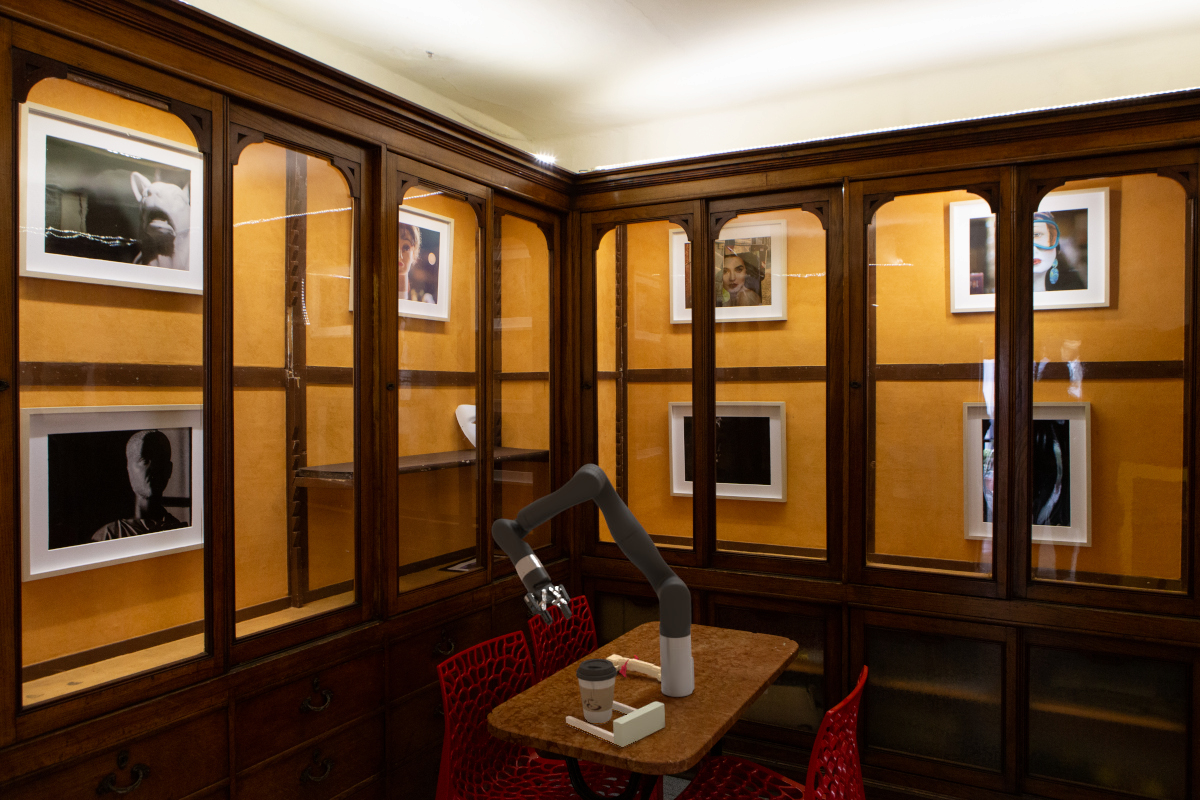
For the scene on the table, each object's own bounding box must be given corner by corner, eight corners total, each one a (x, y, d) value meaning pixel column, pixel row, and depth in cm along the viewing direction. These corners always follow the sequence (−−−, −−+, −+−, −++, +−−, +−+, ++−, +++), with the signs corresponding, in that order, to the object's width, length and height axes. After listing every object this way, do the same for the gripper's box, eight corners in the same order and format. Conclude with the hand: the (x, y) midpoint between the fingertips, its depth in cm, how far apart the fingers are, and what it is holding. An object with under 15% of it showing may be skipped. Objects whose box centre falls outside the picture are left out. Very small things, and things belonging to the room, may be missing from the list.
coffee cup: (571, 725, 203) (569, 670, 203) (584, 708, 214) (583, 656, 214) (612, 729, 200) (610, 673, 200) (623, 712, 211) (621, 658, 211)
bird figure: (679, 681, 236) (611, 662, 250) (680, 654, 236) (612, 636, 249) (664, 692, 228) (595, 672, 241) (665, 664, 227) (596, 645, 241)
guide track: (608, 705, 215) (608, 684, 216) (665, 726, 201) (664, 704, 201) (566, 724, 204) (565, 702, 204) (622, 748, 189) (621, 724, 189)
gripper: (519, 570, 218) (547, 618, 210) (556, 561, 229) (584, 607, 220) (508, 586, 222) (535, 633, 214) (545, 577, 232) (572, 622, 224)
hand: (560, 620), depth 217 cm, fingers open, 6 cm apart
